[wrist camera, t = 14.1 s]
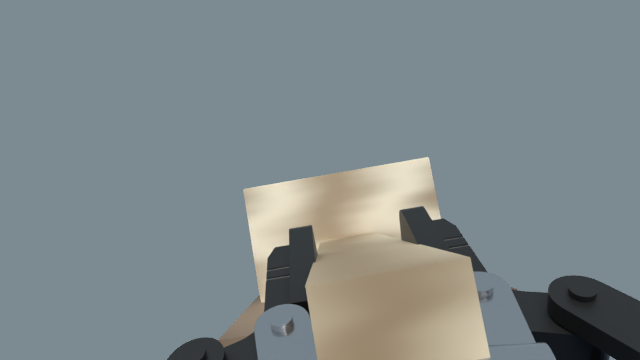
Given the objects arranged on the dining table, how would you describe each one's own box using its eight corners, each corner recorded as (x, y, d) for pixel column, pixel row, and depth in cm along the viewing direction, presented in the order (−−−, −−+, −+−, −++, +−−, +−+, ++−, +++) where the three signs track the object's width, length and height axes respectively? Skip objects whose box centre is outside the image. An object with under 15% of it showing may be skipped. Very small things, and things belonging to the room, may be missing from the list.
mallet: (425, 259, 29) (408, 169, 30) (722, 380, 7) (635, 27, 8) (274, 285, 29) (260, 195, 30) (113, 484, 7) (69, 124, 8)
